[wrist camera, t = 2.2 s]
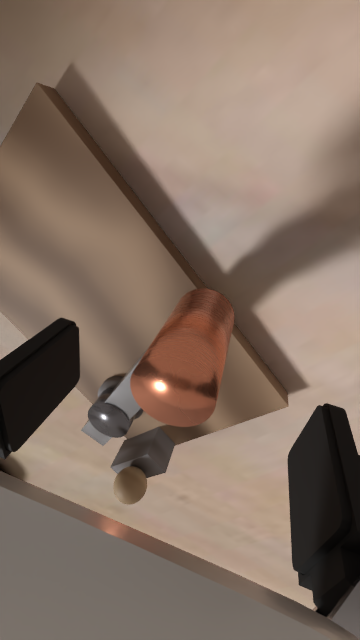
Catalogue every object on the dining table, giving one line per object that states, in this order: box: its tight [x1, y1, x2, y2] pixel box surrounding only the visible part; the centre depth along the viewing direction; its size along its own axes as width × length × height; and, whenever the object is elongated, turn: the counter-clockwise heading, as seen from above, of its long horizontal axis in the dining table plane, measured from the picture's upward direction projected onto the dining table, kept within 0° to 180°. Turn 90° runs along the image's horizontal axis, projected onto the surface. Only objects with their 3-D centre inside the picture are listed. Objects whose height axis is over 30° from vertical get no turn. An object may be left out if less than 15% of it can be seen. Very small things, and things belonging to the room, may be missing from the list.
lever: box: [81, 288, 234, 446], centre depth 18 cm, size 18×4×8 cm, turn 145°
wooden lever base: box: [0, 83, 288, 504], centre depth 21 cm, size 16×26×7 cm, turn 40°
